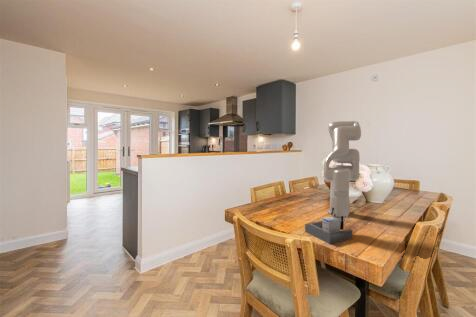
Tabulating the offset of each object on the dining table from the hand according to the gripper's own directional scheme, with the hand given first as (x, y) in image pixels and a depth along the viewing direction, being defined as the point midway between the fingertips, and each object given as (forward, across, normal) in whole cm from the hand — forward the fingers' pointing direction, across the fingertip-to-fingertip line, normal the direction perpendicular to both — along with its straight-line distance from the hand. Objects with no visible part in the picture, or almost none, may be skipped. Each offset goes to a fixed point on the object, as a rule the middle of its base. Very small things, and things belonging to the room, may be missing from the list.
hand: (339, 228), depth 116 cm
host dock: (+2, +8, 0) cm, 8 cm away
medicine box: (+2, +7, +1) cm, 7 cm away
